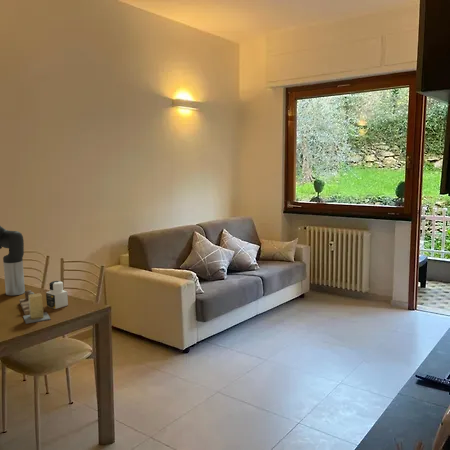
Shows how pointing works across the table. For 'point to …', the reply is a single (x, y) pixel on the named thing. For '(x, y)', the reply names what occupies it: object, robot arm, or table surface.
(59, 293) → the medicine bottle
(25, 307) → the plane base
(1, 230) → the robot arm
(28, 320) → the rubber mat
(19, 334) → the table surface
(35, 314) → the tan wooden block
